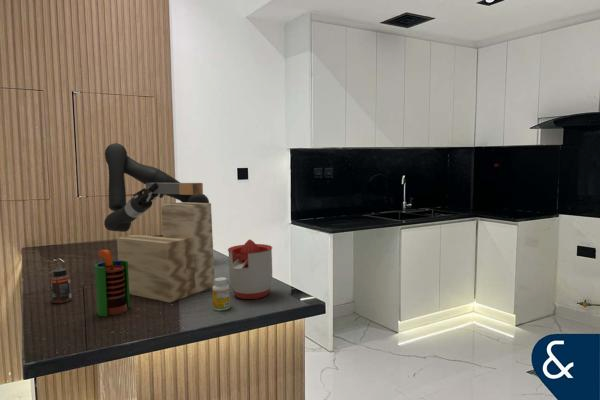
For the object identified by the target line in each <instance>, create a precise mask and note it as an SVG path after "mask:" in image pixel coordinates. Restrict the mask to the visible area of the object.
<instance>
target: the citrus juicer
mask: <svg viewBox="0 0 600 400" xmlns="http://www.w3.org/2000/svg"><path fill="white" fill-rule="evenodd" d="M272 249H273V246H272V245H269V244H261V243H255V241H253V240H252V239H248V240H246V242H245V243H244V244H239V245H234V246H230V247H229V248H227V251H228V269H229V270H228V271H229V280H230V285H231V288H232V291H233V293H234V295H235V297H236V298H239V299H243V300H245V299H246V300H258V299H261V298H263V297H266V296H267V295H269V292H270V289H271V285H272V282H273V281H272V280H273V257H272V256H273V252H272Z"/></svg>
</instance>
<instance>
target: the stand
mask: <svg viewBox="0 0 600 400" xmlns="http://www.w3.org/2000/svg"><path fill="white" fill-rule="evenodd" d="M160 206H161V208H160V210H161V226H162V227H161V229H162V236H154V235H144V234H143V235H142V234H131V235H125V236H120V237H116V244H117V258H118V259H117V260H123V261H128V276H129V295H132V296H138V297H142V298H147V299H151V300H156V301H160V302H161V301H162V302H165V303H173V302H175V301H178V300H181V299H183V298H186V297H188V296H192V295H196V294H197V293H201V292H204V291H206V290H208V289H212V288H213V286H214V285H215V284H214V279H215V258H214V241H213V240H214V237H213V220H212V219H213V217H212V203H211V202H209V203H189V202H181V201H180V202H174V203H164V204H160Z"/></svg>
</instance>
